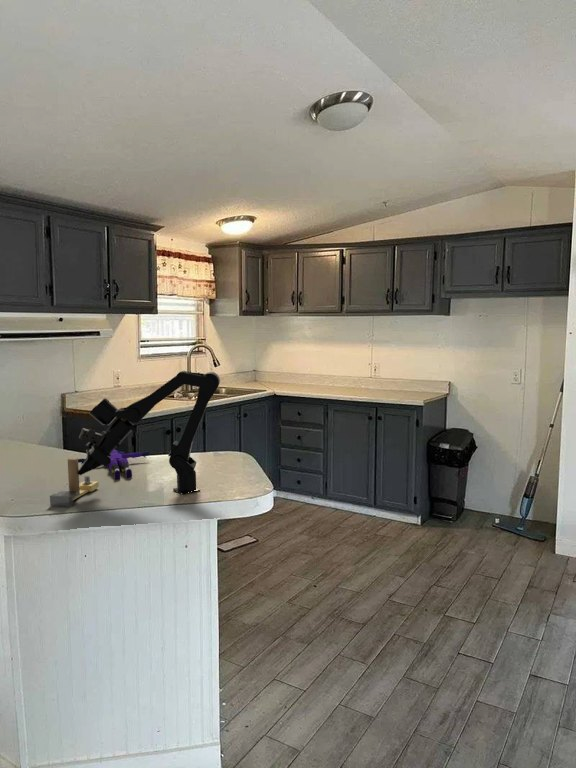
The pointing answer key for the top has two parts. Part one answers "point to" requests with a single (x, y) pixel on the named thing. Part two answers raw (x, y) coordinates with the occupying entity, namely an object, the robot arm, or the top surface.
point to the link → (74, 479)
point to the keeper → (63, 498)
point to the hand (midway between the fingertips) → (78, 474)
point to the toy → (120, 462)
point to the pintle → (87, 481)
